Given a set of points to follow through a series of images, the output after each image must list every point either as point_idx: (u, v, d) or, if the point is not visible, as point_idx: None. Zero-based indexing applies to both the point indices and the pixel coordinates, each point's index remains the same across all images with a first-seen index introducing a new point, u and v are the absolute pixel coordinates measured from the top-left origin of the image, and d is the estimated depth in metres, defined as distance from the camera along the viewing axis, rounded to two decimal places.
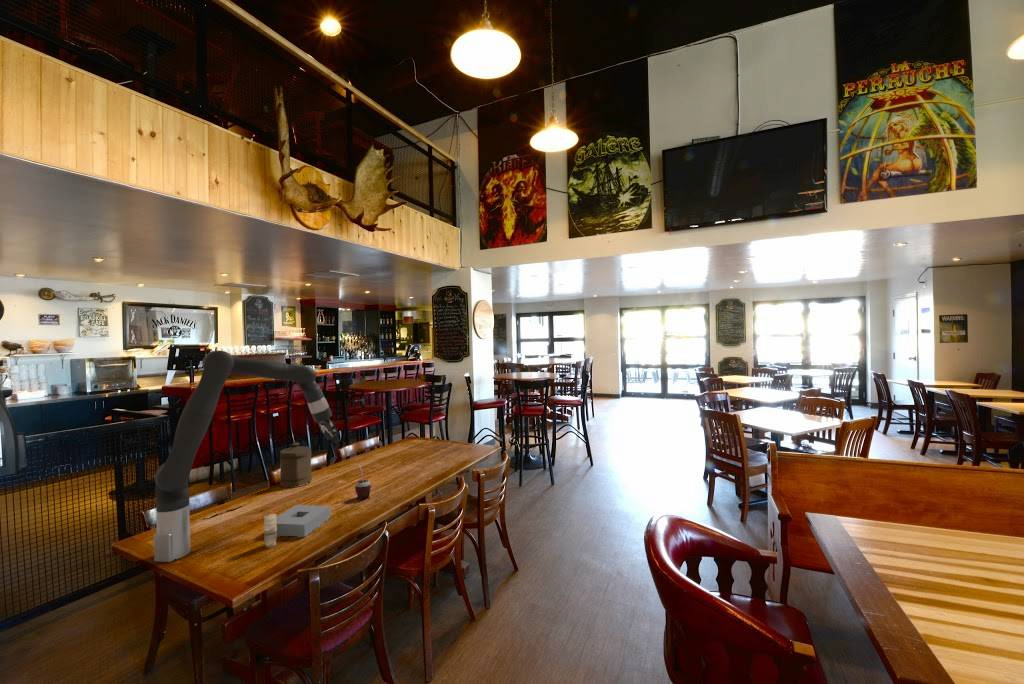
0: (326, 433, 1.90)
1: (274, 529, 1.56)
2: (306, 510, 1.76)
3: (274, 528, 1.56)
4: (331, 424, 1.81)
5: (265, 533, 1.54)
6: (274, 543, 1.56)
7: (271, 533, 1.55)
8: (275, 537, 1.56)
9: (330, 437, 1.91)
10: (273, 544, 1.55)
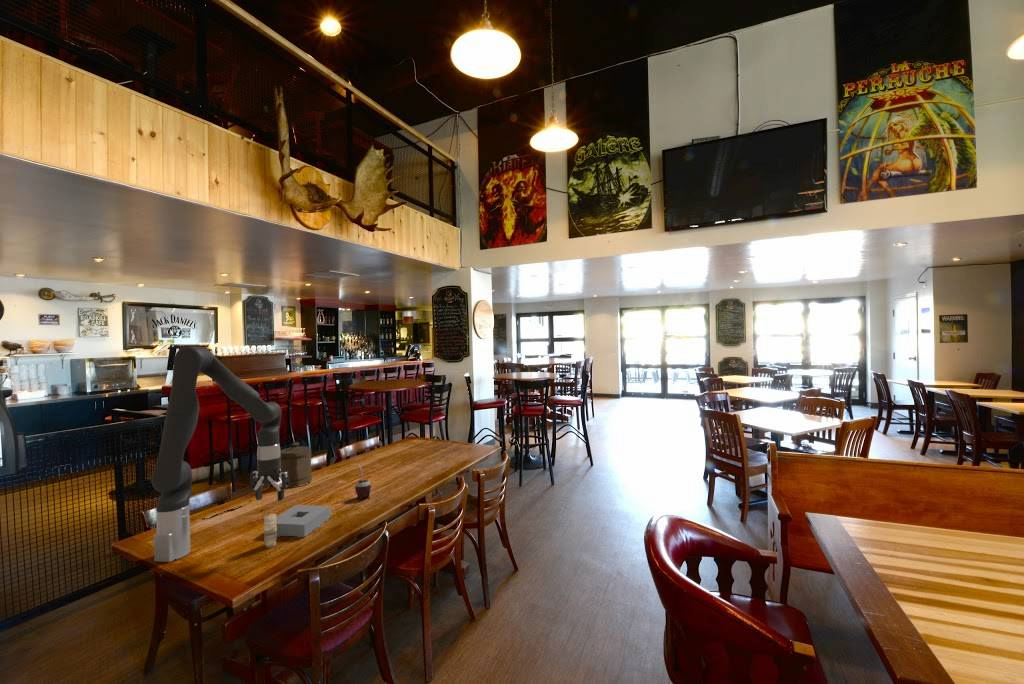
0: (259, 490, 1.56)
1: (274, 529, 1.56)
2: (306, 510, 1.76)
3: (274, 528, 1.56)
4: (286, 474, 1.55)
5: (265, 533, 1.54)
6: (274, 543, 1.56)
7: (271, 533, 1.55)
8: (275, 537, 1.56)
9: (260, 496, 1.57)
10: (273, 544, 1.55)
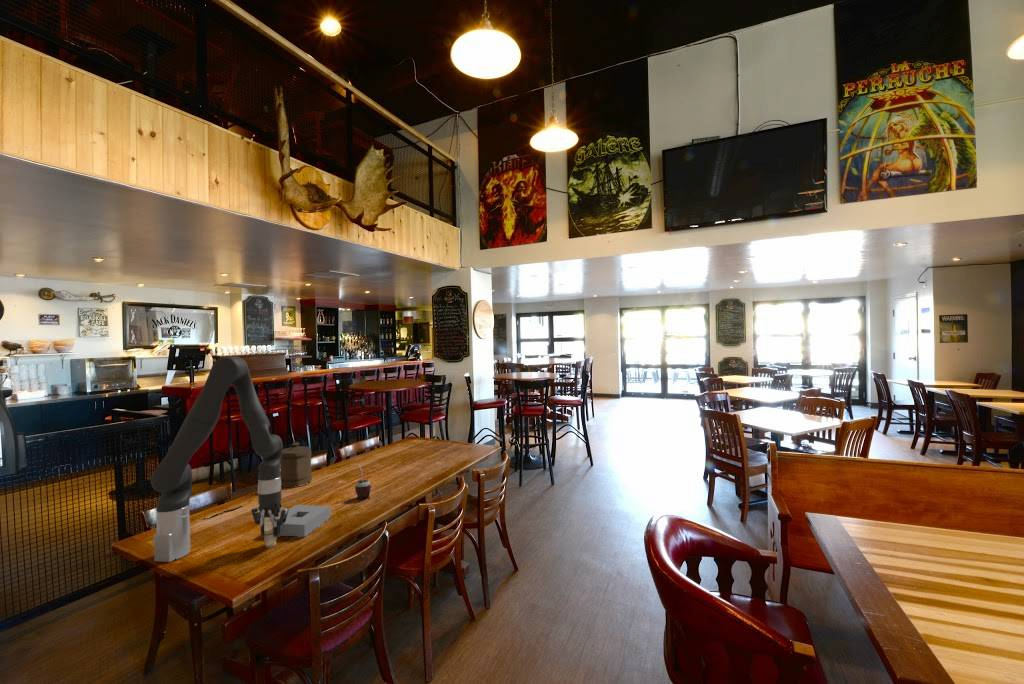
0: None
1: None
2: (306, 510, 1.76)
3: None
4: (286, 512, 1.55)
5: (265, 533, 1.54)
6: (274, 543, 1.56)
7: (271, 533, 1.55)
8: (275, 537, 1.56)
9: None
10: (273, 544, 1.55)
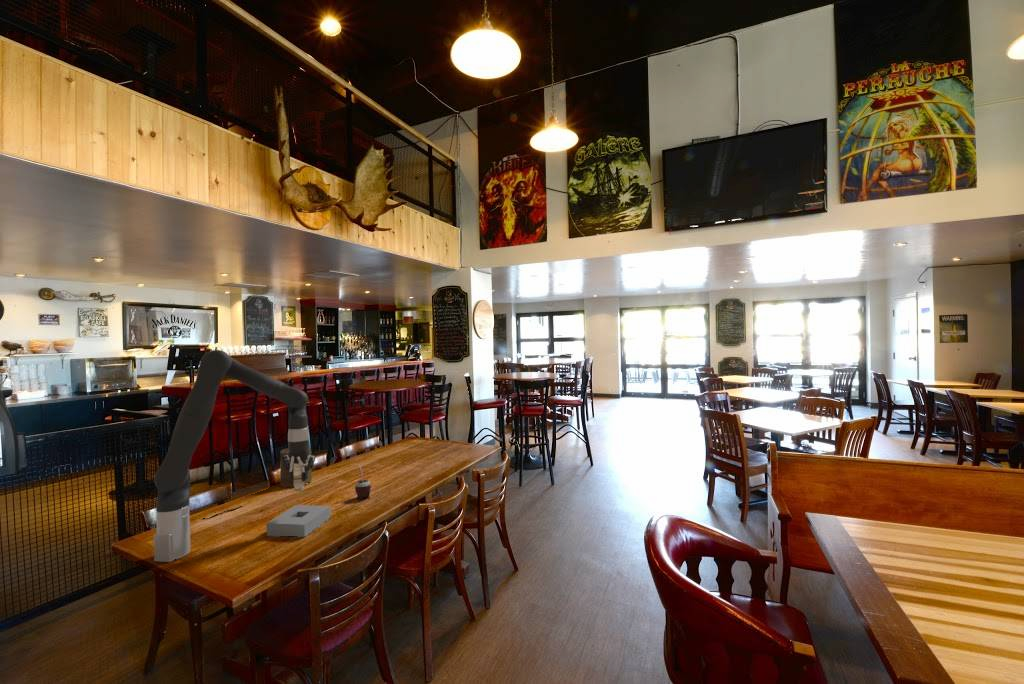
0: None
1: None
2: (306, 510, 1.76)
3: None
4: (313, 458, 1.71)
5: (294, 478, 1.70)
6: (302, 487, 1.71)
7: (300, 478, 1.70)
8: (303, 482, 1.72)
9: None
10: (301, 488, 1.71)
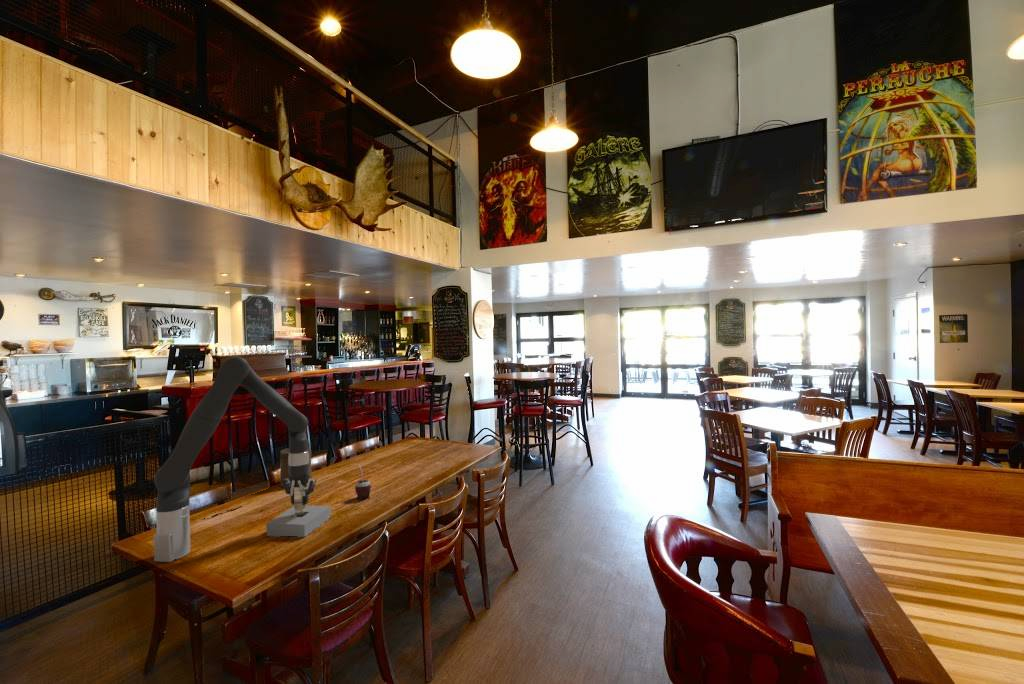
0: None
1: None
2: (306, 510, 1.76)
3: None
4: (314, 482, 1.71)
5: (295, 501, 1.70)
6: (303, 511, 1.72)
7: (300, 501, 1.70)
8: (304, 505, 1.72)
9: None
10: (302, 512, 1.71)
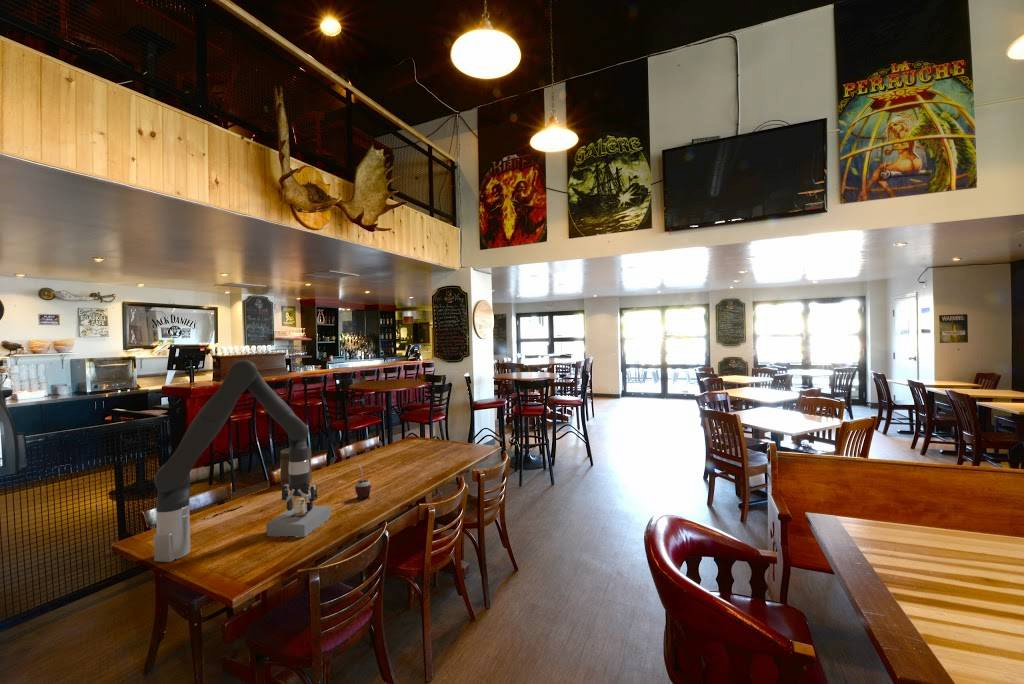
0: (289, 502, 1.72)
1: (303, 511, 1.71)
2: (306, 510, 1.76)
3: (303, 510, 1.71)
4: (314, 488, 1.71)
5: (295, 515, 1.70)
6: None
7: (300, 515, 1.70)
8: None
9: (291, 507, 1.73)
10: None
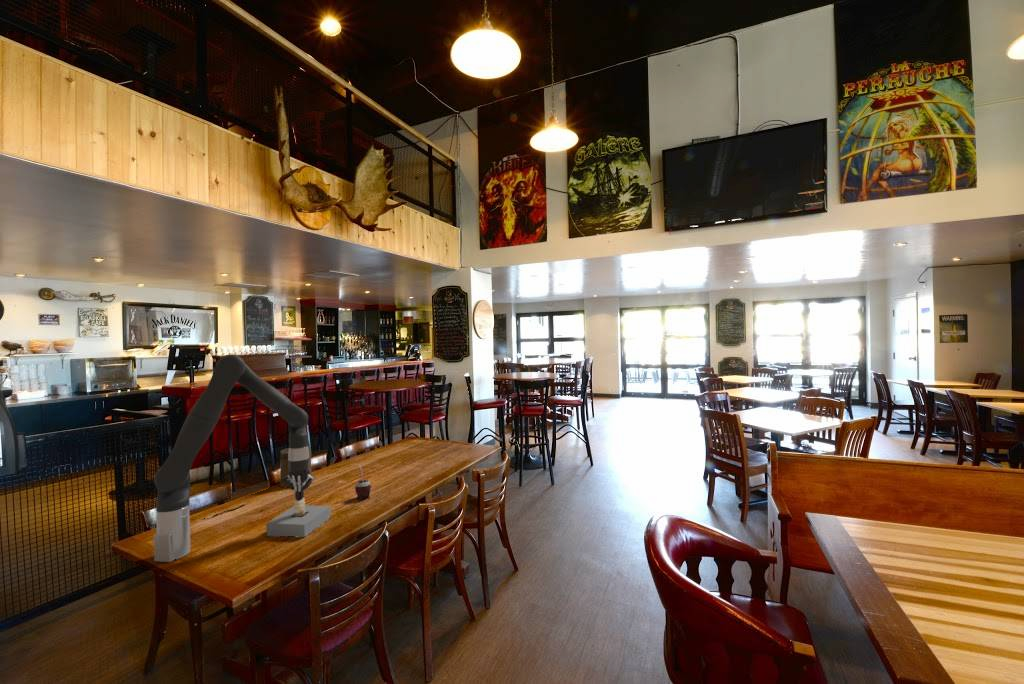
0: None
1: (303, 511, 1.71)
2: (306, 510, 1.76)
3: (303, 511, 1.71)
4: (312, 480, 1.71)
5: (295, 515, 1.70)
6: None
7: (300, 515, 1.70)
8: None
9: None
10: None
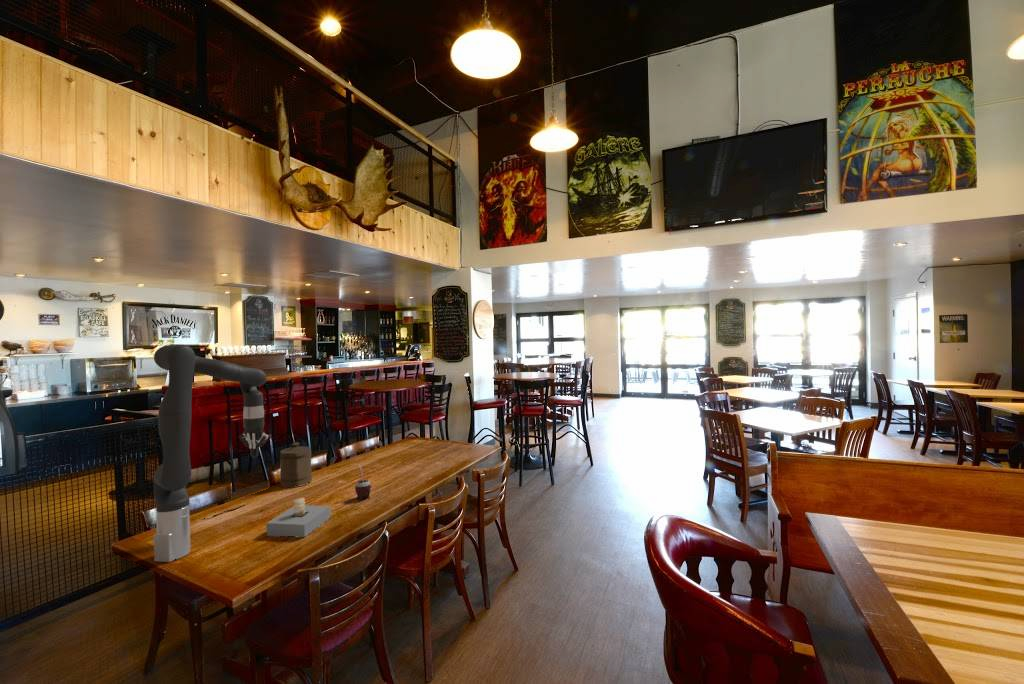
0: None
1: (303, 511, 1.71)
2: (306, 510, 1.76)
3: (303, 510, 1.71)
4: (266, 438, 1.78)
5: (295, 515, 1.70)
6: None
7: (300, 515, 1.70)
8: None
9: None
10: None
